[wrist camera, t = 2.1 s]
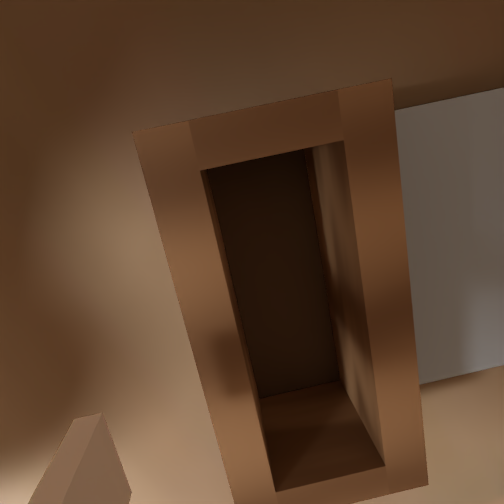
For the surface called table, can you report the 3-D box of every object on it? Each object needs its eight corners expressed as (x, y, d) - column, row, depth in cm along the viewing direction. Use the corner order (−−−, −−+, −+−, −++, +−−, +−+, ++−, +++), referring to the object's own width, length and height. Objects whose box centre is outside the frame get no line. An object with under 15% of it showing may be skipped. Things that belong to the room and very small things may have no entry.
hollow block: (372, 395, 22) (428, 484, 16) (234, 428, 22) (242, 530, 16) (333, 99, 18) (391, 78, 12) (159, 135, 17) (131, 132, 12)
